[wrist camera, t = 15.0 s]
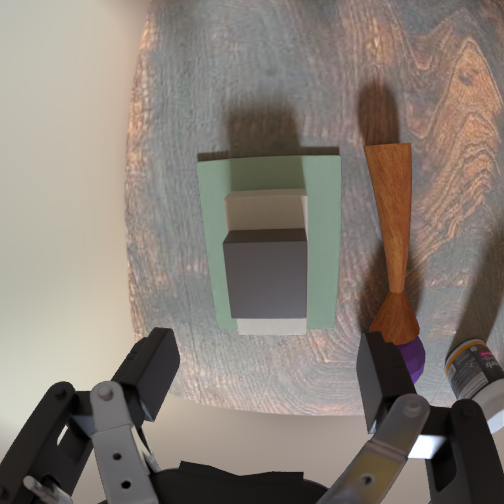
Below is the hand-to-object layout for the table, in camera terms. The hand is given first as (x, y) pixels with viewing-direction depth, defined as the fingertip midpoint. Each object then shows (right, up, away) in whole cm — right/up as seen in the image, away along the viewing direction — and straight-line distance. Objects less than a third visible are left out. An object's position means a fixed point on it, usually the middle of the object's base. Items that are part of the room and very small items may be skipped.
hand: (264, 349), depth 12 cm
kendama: (+10, +2, +10) cm, 15 cm away
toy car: (+1, +4, +10) cm, 11 cm away
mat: (+1, +4, +10) cm, 11 cm away
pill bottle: (+23, -8, +13) cm, 27 cm away
